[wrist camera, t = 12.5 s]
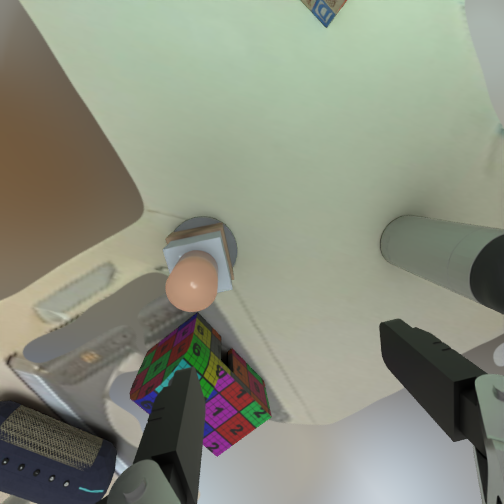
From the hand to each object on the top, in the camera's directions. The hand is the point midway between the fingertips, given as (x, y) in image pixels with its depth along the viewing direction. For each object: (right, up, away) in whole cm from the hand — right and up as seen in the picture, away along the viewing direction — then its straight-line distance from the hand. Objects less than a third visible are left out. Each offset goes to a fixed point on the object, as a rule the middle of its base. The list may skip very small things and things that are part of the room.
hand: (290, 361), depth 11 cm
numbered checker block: (-10, -20, +39) cm, 45 cm away
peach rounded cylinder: (-8, +2, +21) cm, 23 cm away
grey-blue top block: (-9, +4, +26) cm, 28 cm away
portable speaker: (-37, -28, +37) cm, 60 cm away
